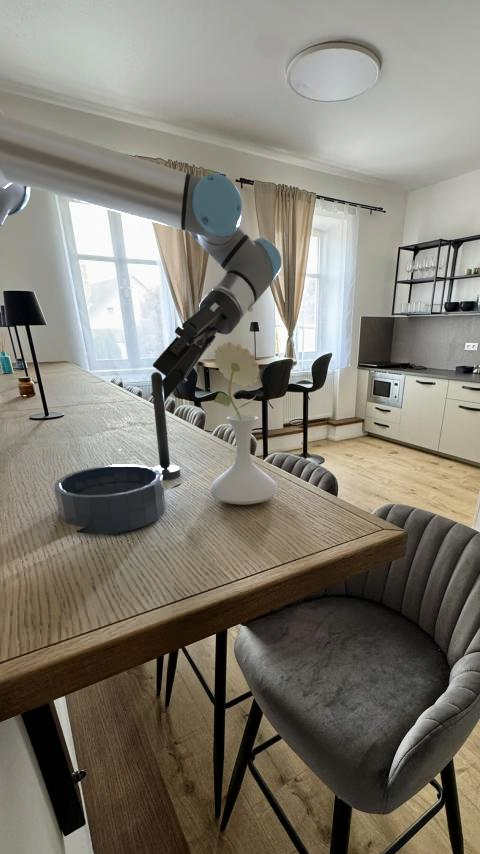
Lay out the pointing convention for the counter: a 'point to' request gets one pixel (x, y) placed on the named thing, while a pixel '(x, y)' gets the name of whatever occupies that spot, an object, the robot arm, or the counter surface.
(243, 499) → the flower in vase
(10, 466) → the counter surface
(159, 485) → the bowl
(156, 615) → the counter surface
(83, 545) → the counter surface
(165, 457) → the rod with disc base
